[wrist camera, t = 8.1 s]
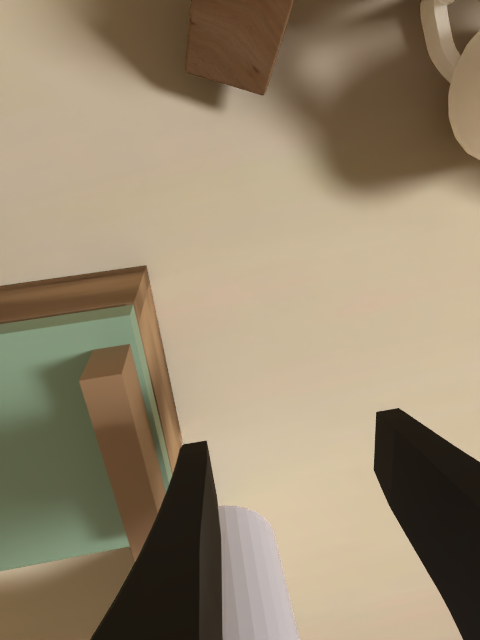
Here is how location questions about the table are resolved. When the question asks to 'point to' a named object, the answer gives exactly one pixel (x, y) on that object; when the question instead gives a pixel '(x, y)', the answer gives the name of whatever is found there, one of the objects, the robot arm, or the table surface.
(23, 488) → the toolbox lid
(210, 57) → the wooden block set
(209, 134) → the table surface
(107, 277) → the toolbox
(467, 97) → the wheeled car silhouette
